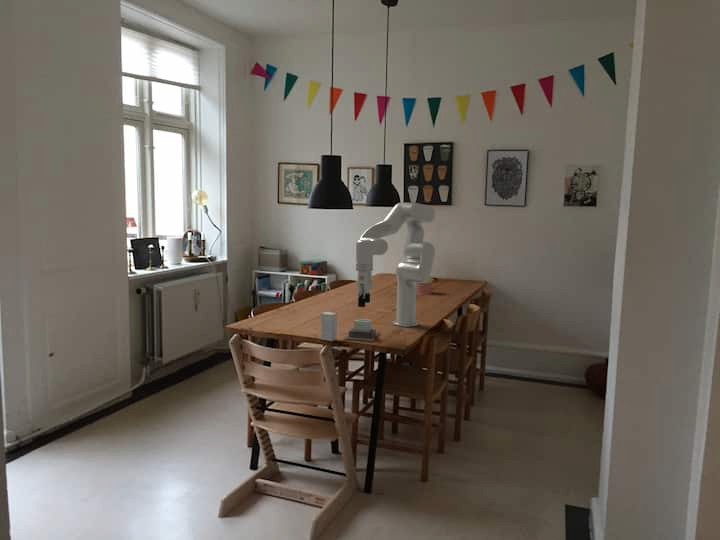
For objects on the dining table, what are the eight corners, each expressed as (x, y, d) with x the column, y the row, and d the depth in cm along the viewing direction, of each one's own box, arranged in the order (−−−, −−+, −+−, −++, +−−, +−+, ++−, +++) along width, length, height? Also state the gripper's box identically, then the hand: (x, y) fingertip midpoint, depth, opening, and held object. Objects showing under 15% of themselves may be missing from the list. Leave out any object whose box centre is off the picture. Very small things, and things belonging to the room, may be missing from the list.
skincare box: (337, 339, 254) (337, 313, 253) (331, 341, 251) (331, 314, 249) (326, 337, 258) (326, 311, 256) (320, 339, 254) (320, 312, 252)
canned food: (434, 293, 382) (435, 275, 380) (423, 295, 374) (424, 276, 372) (422, 291, 390) (422, 273, 388) (410, 292, 382) (411, 274, 380)
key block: (370, 334, 262) (371, 319, 261) (368, 337, 258) (369, 321, 257) (355, 333, 264) (356, 318, 263) (353, 335, 259) (354, 320, 258)
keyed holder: (352, 331, 270) (352, 325, 270) (379, 333, 267) (379, 327, 267) (343, 339, 255) (344, 333, 254) (372, 342, 252) (372, 335, 251)
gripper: (368, 270, 248) (368, 309, 250) (376, 264, 264) (376, 301, 267) (351, 269, 249) (351, 308, 252) (360, 264, 266) (360, 300, 269)
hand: (364, 304), depth 259 cm, fingers open, 9 cm apart
